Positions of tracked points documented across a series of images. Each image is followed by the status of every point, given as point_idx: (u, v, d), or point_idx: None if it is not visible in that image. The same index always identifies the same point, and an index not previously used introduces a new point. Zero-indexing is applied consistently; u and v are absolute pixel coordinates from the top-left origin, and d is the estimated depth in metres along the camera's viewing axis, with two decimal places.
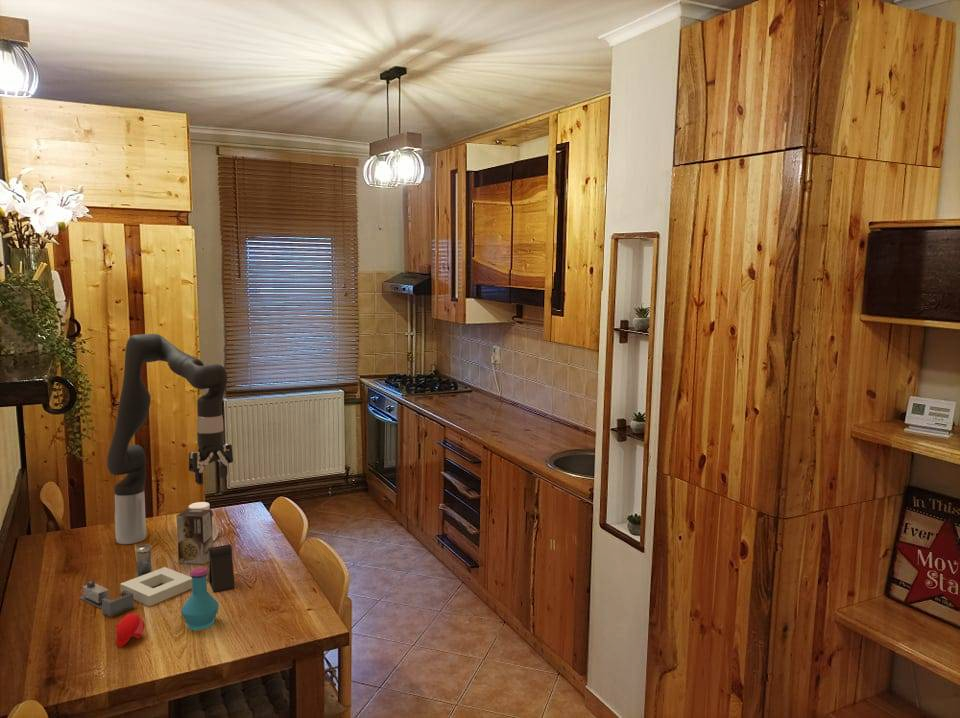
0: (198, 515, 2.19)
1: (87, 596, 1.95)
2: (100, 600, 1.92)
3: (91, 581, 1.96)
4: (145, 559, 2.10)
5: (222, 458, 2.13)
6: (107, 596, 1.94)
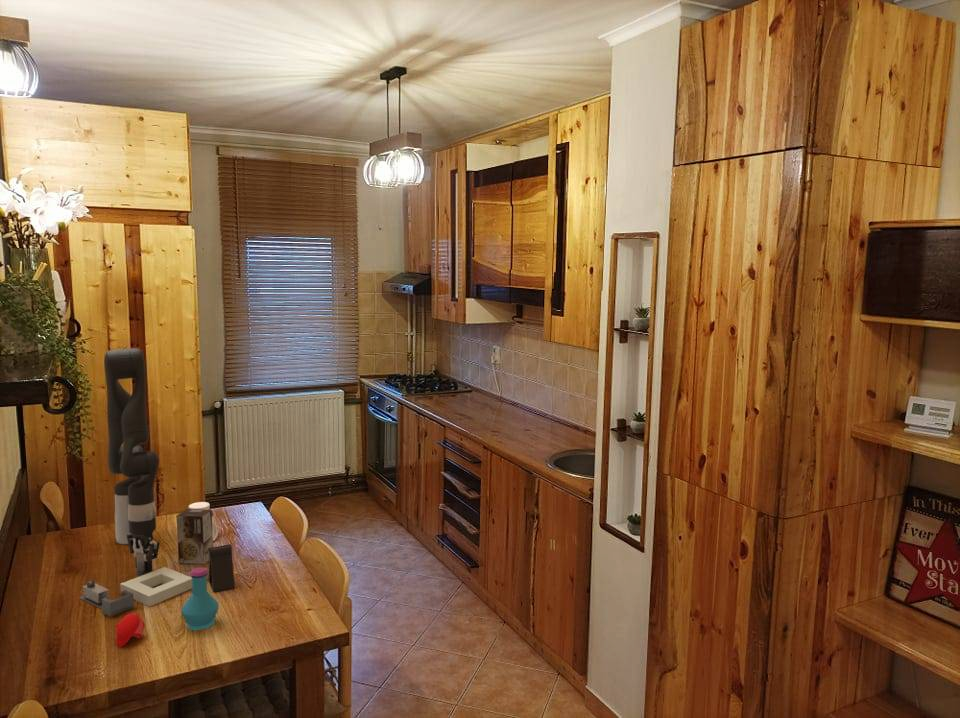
0: (198, 515, 2.19)
1: (87, 596, 1.95)
2: (100, 600, 1.92)
3: (91, 581, 1.96)
4: None
5: None
6: (107, 596, 1.94)
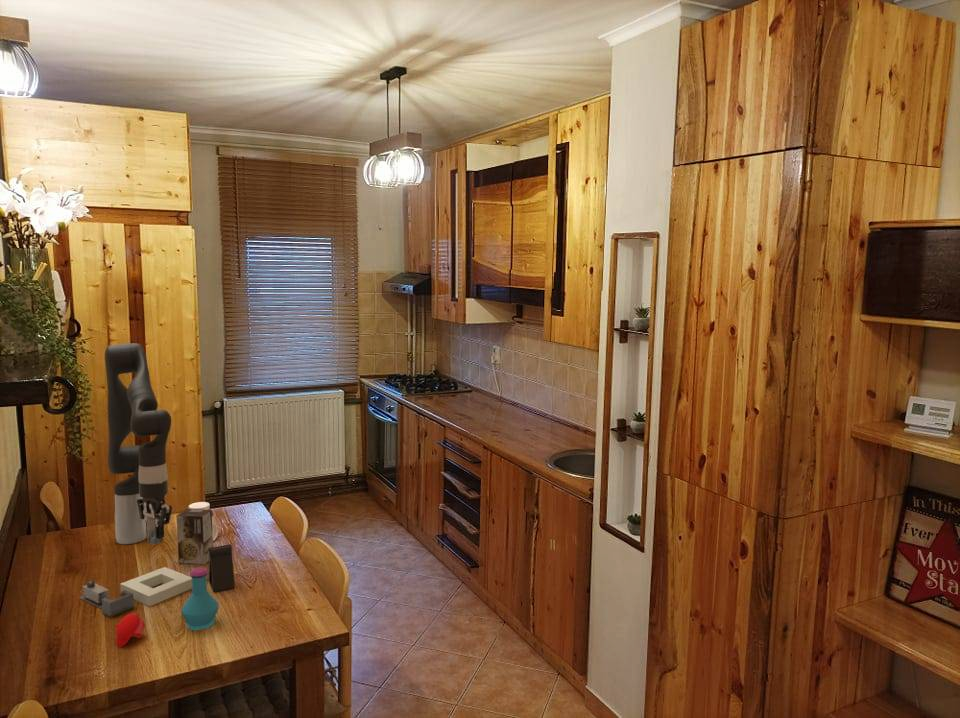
0: (199, 515, 2.19)
1: (87, 596, 1.95)
2: (100, 600, 1.92)
3: (91, 581, 1.96)
4: None
5: None
6: (107, 596, 1.94)
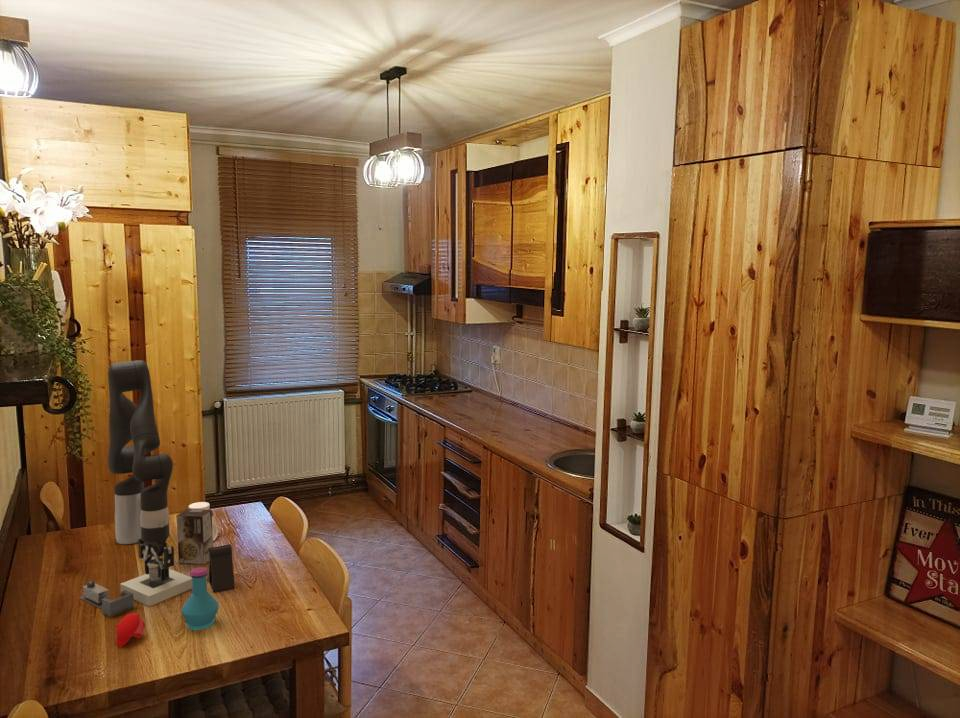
0: (198, 515, 2.19)
1: (87, 596, 1.95)
2: (100, 600, 1.92)
3: (91, 581, 1.96)
4: (159, 574, 1.99)
5: None
6: (107, 596, 1.94)
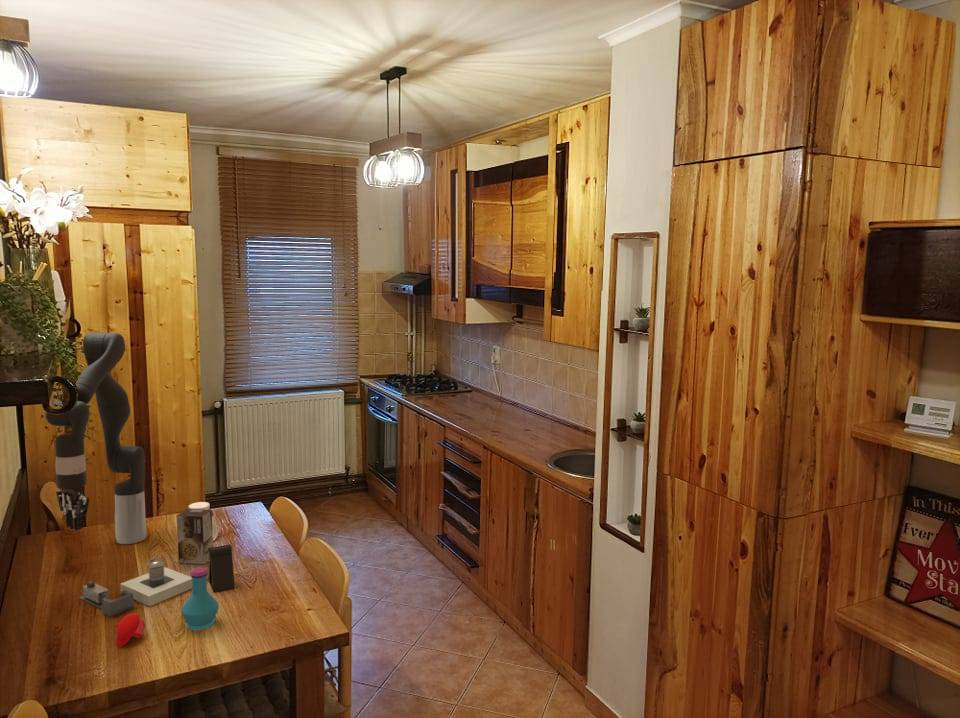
0: (198, 515, 2.19)
1: (87, 596, 1.95)
2: (100, 600, 1.92)
3: (91, 581, 1.96)
4: (159, 574, 1.99)
5: None
6: (107, 596, 1.94)
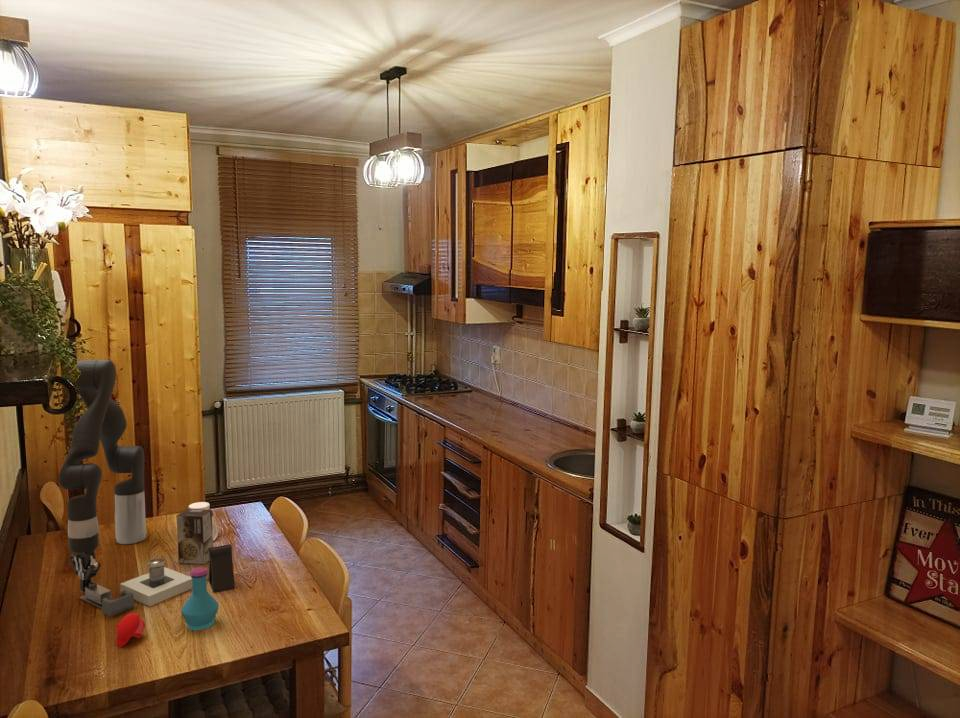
0: (198, 515, 2.19)
1: (89, 597, 1.94)
2: None
3: (93, 582, 1.96)
4: (159, 574, 2.00)
5: None
6: (109, 597, 1.93)
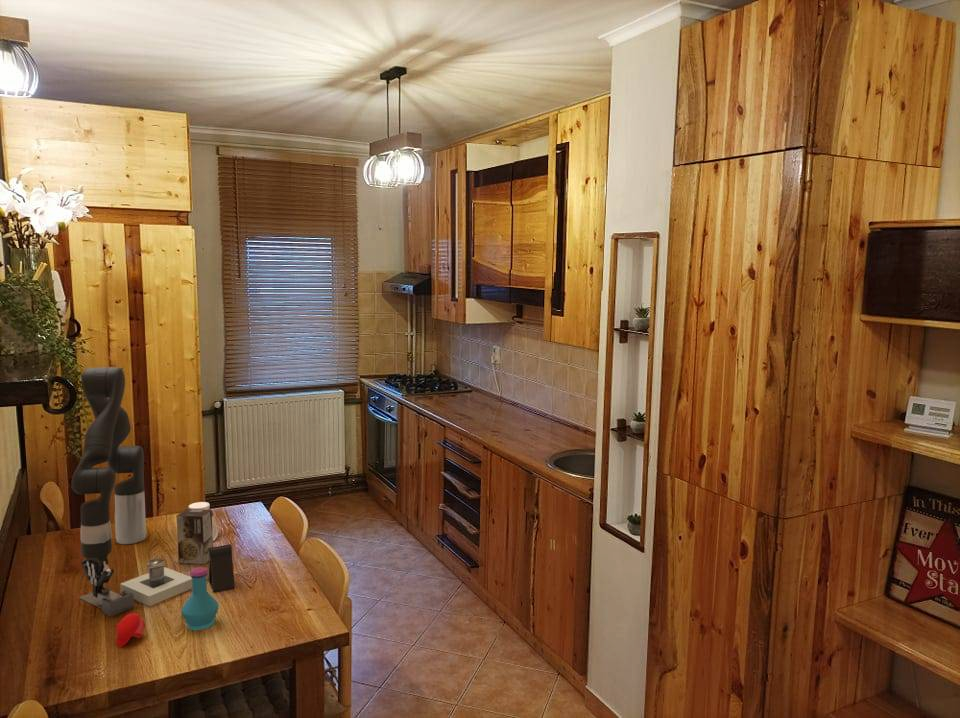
0: (199, 515, 2.19)
1: None
2: None
3: (106, 588, 1.92)
4: (159, 575, 1.99)
5: None
6: None
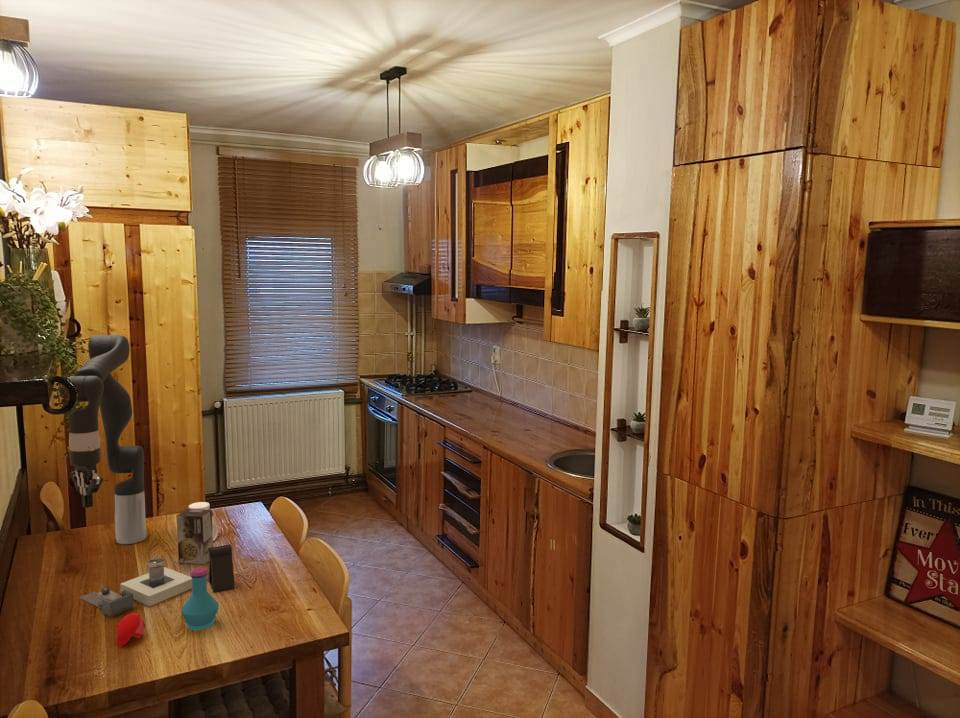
0: (198, 515, 2.19)
1: None
2: None
3: (106, 588, 1.92)
4: (159, 574, 2.00)
5: None
6: None
